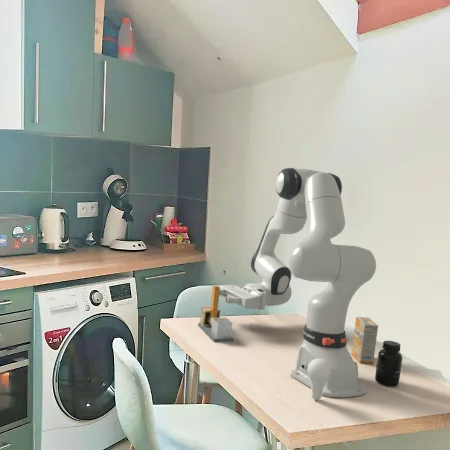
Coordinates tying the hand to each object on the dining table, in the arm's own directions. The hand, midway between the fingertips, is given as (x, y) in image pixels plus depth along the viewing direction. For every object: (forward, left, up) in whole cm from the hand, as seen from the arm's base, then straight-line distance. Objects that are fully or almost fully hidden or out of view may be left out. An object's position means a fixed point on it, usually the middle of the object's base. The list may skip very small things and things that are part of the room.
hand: (220, 296), depth 188 cm
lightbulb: (-58, -7, -12) cm, 60 cm away
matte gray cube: (-10, +2, -11) cm, 15 cm away
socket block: (+3, +2, -11) cm, 12 cm away
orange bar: (-2, +2, -10) cm, 11 cm away
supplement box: (-33, -39, -12) cm, 53 cm away
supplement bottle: (-51, -35, -12) cm, 63 cm away
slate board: (-4, +2, -12) cm, 13 cm away
